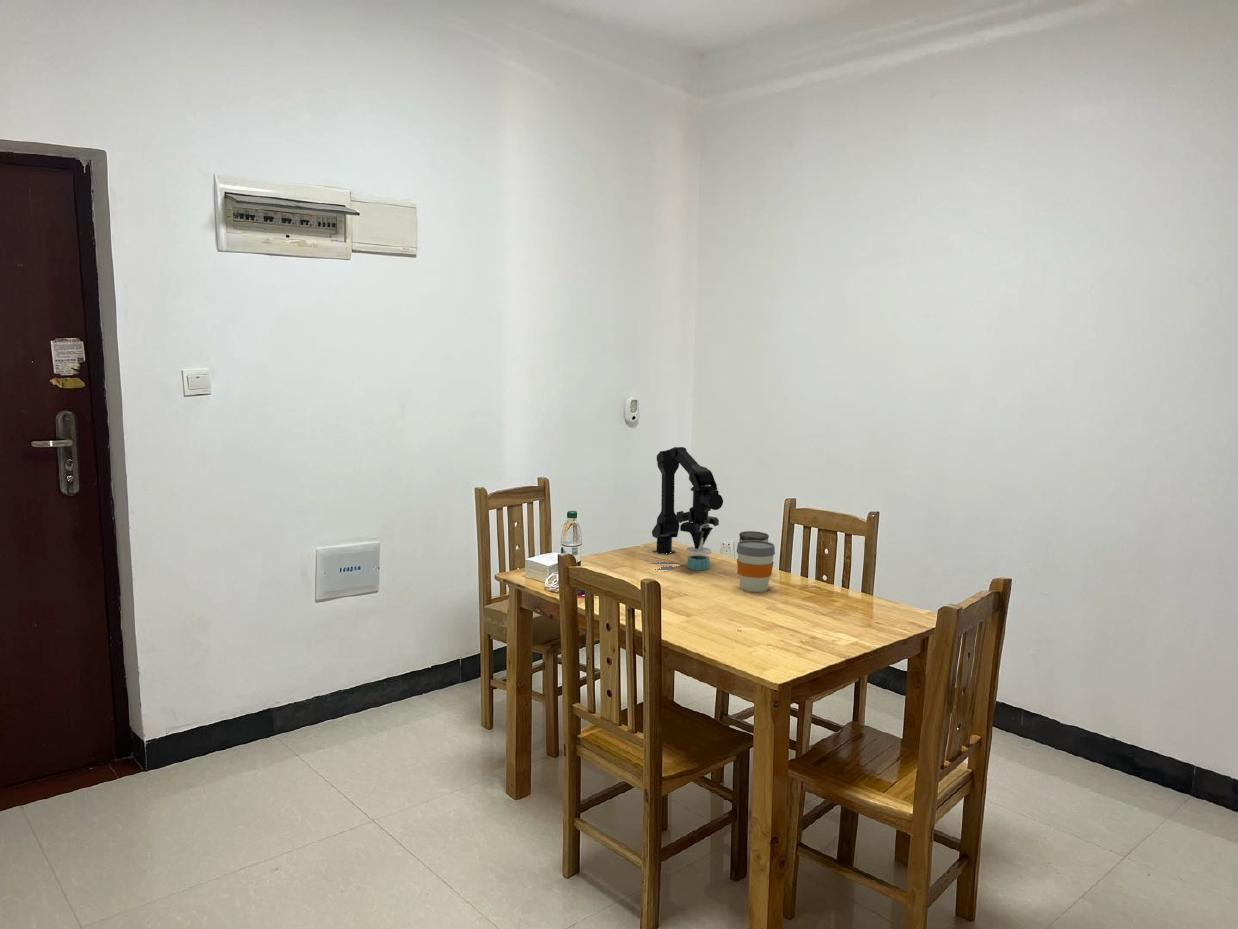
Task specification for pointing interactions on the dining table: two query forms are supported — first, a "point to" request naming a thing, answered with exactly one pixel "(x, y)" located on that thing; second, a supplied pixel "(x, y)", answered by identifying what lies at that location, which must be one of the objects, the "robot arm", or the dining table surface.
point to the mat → (666, 566)
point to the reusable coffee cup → (755, 564)
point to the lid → (699, 550)
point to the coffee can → (753, 536)
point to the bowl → (698, 562)
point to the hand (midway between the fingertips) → (698, 547)
